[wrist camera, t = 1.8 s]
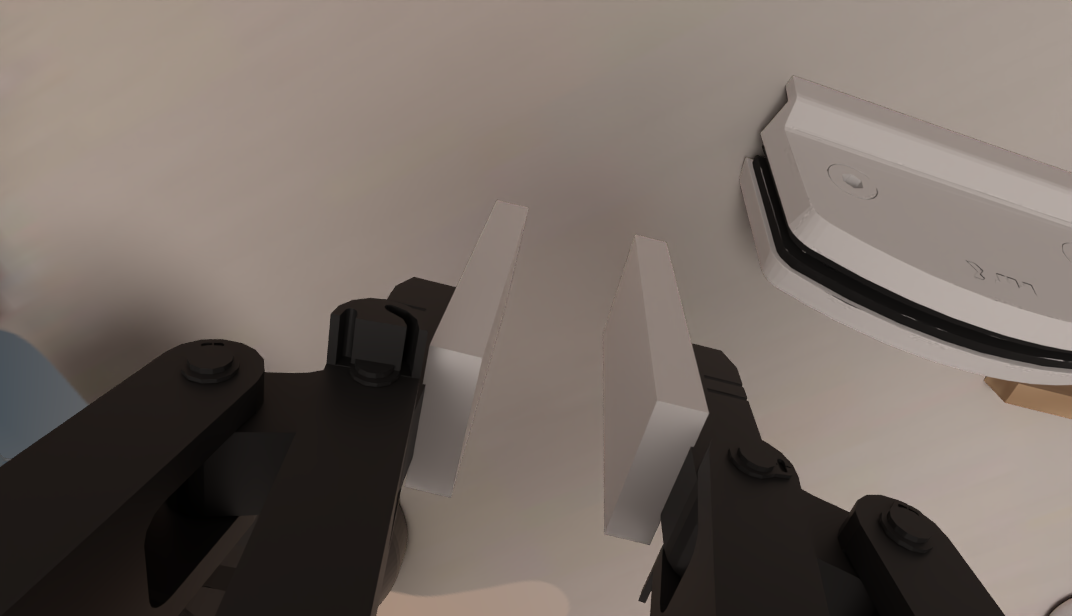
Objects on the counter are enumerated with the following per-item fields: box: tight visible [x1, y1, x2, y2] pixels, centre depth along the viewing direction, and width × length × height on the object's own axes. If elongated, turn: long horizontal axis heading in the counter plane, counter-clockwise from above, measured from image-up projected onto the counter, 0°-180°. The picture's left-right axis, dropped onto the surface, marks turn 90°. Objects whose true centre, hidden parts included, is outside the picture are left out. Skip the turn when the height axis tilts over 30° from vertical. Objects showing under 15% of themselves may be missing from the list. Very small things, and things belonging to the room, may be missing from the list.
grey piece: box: [739, 75, 1072, 385], centre depth 27 cm, size 17×5×10 cm, turn 73°
